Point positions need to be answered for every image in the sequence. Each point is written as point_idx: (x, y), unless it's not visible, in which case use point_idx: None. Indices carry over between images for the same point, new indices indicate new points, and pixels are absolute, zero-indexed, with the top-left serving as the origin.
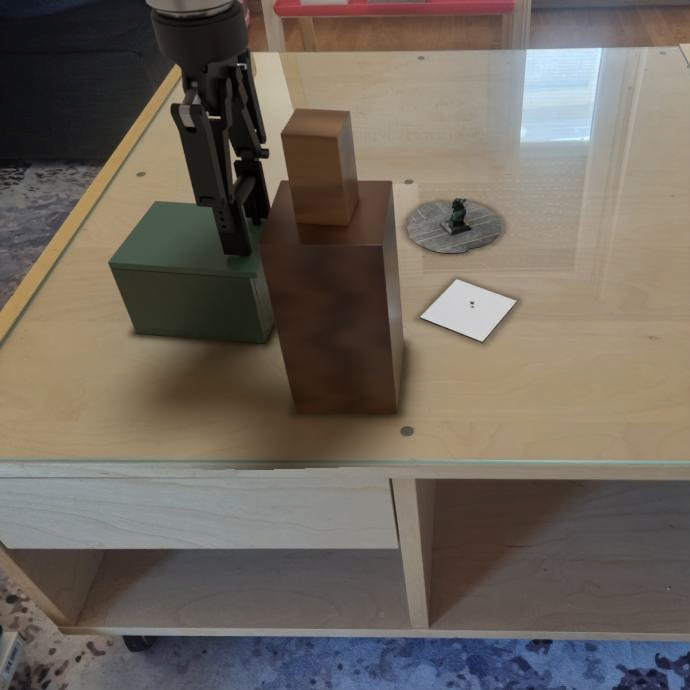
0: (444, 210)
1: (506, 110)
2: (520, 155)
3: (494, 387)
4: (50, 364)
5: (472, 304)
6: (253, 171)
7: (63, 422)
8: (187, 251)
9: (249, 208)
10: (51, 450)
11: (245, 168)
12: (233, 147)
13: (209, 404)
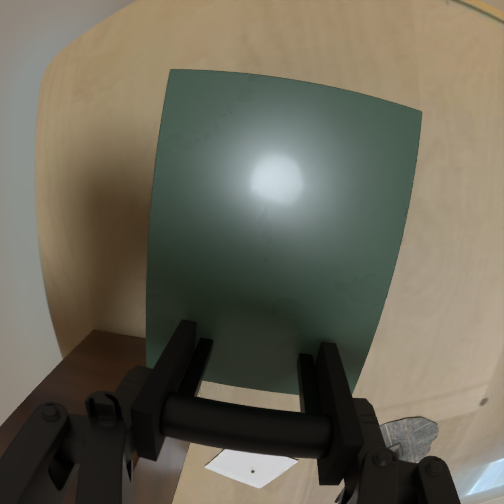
0: (421, 442)
1: None
2: (474, 468)
3: None
4: (157, 27)
5: (256, 468)
6: (322, 460)
7: (71, 89)
8: (204, 233)
9: (320, 366)
10: (43, 99)
11: (330, 453)
12: (360, 483)
13: (91, 241)
